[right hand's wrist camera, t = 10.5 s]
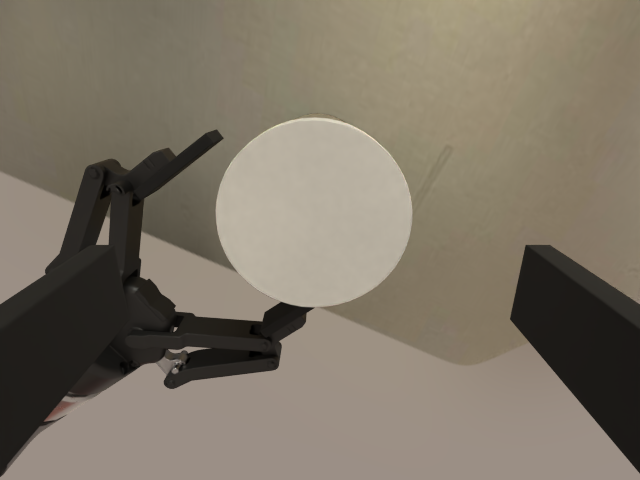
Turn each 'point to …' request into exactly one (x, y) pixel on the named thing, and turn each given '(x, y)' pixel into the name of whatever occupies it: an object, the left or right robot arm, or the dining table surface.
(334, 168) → the lid
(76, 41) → the dining table surface
